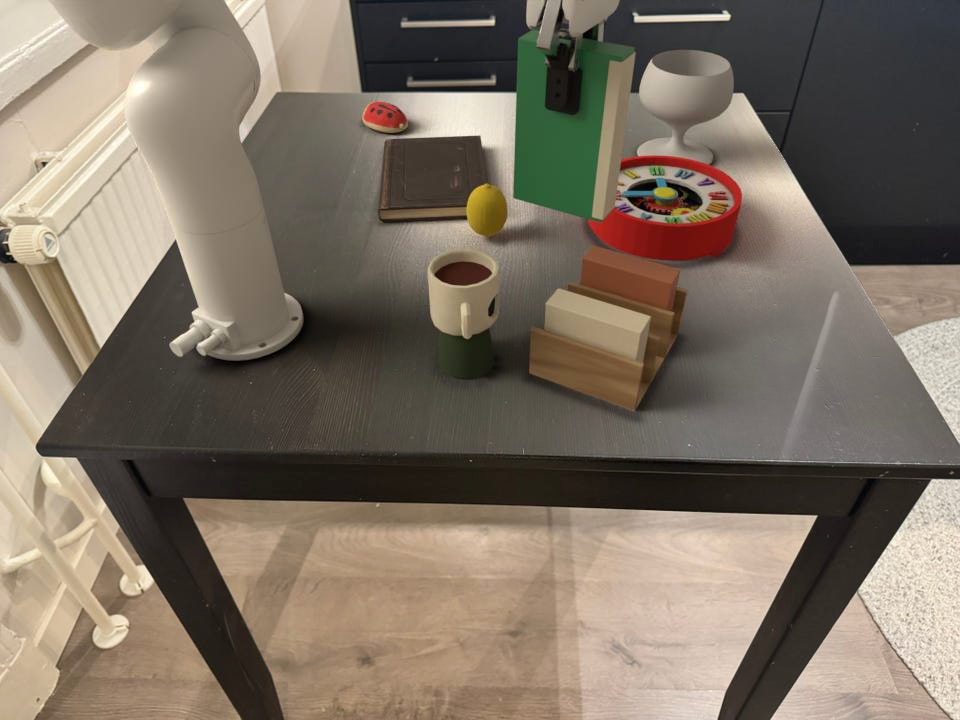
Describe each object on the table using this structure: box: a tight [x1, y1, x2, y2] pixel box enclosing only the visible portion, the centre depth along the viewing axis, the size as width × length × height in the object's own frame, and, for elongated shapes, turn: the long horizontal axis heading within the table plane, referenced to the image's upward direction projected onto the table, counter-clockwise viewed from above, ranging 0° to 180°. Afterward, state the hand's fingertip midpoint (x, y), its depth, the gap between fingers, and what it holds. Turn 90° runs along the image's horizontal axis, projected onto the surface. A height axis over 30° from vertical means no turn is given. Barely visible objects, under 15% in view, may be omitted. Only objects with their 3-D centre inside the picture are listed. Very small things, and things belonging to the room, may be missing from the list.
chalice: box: [636, 49, 735, 165], centre depth 113 cm, size 14×14×15 cm
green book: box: [512, 29, 637, 223], centre depth 69 cm, size 3×10×16 cm, turn 60°
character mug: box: [427, 248, 500, 380], centre depth 76 cm, size 11×7×13 cm, turn 4°
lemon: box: [466, 183, 508, 238], centre depth 98 cm, size 6×6×8 cm
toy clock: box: [587, 155, 743, 262], centre depth 100 cm, size 20×6×20 cm
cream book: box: [543, 287, 651, 363], centre depth 75 cm, size 3×10×9 cm, turn 60°
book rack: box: [528, 281, 689, 412], centre depth 79 cm, size 14×12×7 cm
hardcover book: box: [377, 135, 488, 223], centre depth 112 cm, size 16×23×2 cm
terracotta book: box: [579, 245, 681, 312], centre depth 81 cm, size 3×10×9 cm, turn 61°
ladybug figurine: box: [361, 101, 409, 134], centre depth 128 cm, size 7×10×4 cm
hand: (570, 102), depth 68 cm, fingers closed on green book, 3 cm apart
